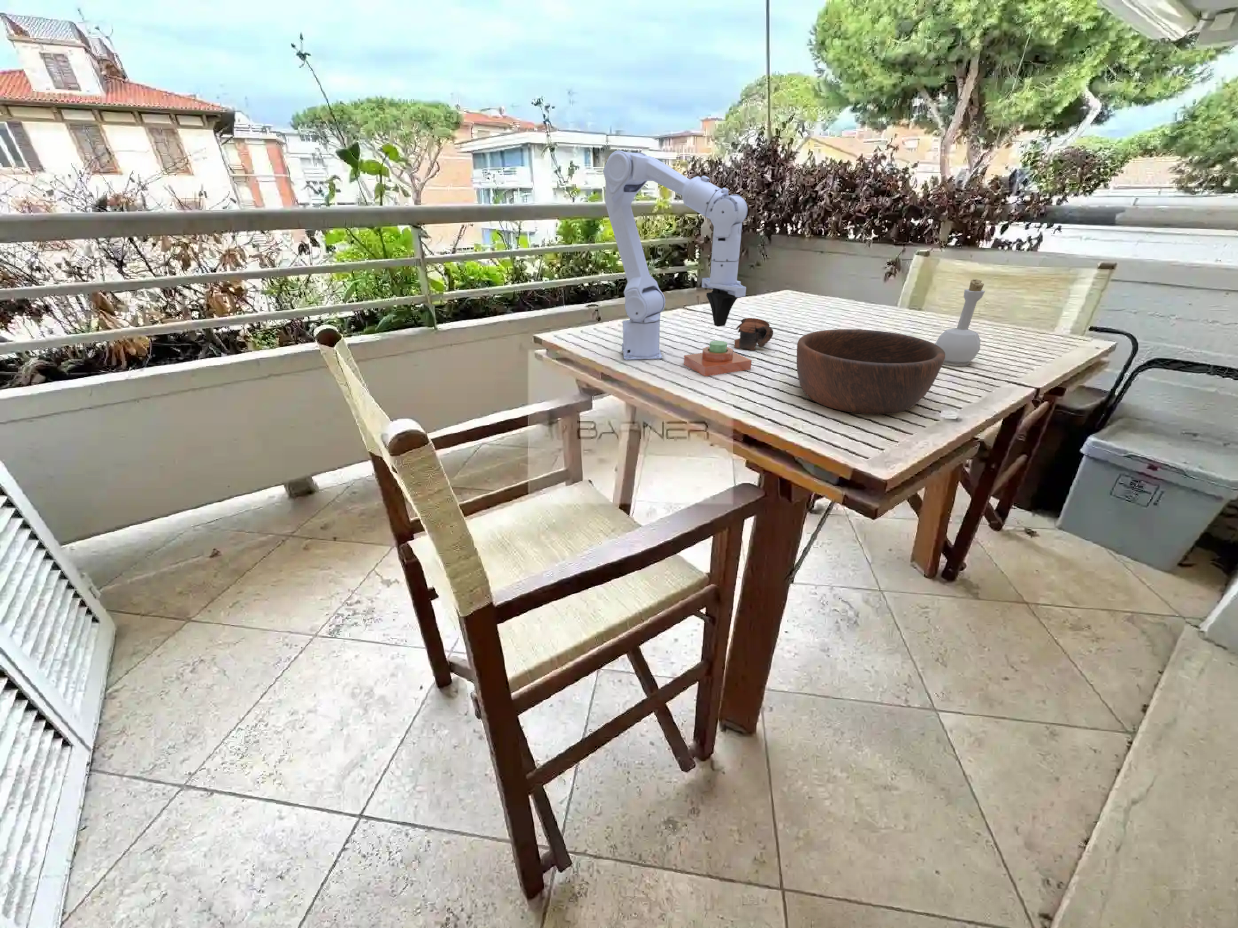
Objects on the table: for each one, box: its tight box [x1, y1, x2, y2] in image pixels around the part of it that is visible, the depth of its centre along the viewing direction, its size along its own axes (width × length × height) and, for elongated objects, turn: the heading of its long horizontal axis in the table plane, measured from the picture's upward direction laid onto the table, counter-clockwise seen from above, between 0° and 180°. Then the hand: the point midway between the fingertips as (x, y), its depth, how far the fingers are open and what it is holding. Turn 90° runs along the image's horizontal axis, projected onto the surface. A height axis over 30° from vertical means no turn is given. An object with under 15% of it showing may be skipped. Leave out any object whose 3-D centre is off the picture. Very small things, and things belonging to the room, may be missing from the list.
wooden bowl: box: [796, 328, 945, 415], centre depth 92 cm, size 25×25×10 cm
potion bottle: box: [934, 278, 986, 367], centre depth 108 cm, size 9×9×18 cm
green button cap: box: [708, 340, 728, 353], centre depth 111 cm, size 4×4×2 cm
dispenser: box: [683, 346, 752, 377], centre depth 112 cm, size 12×10×4 cm
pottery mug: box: [734, 317, 774, 351], centre depth 126 cm, size 12×10×8 cm
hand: (719, 325), depth 108 cm, fingers closed
